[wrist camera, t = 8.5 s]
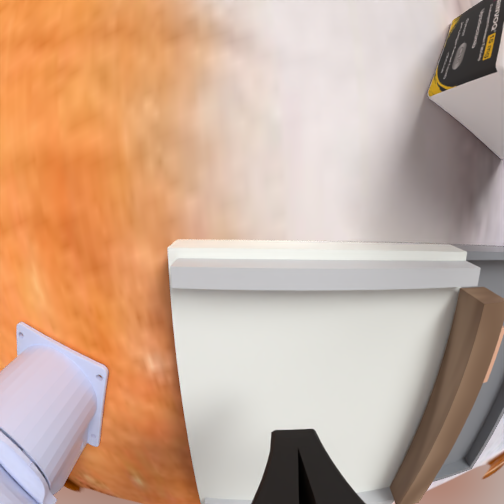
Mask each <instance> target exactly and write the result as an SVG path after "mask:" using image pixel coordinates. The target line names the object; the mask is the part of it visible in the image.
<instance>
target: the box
mask: <svg viewBox="0 0 504 504" xmlns="http://www.w3.org/2000/svg"><path fill="white" fill-rule="evenodd" d="M450 245H452V246H455V247H457V248H459V249H462V250H464V251H466V252H467V257H466V261H468V262H470V263H472V264H474V265H476V266H478V267H480V268H481V269H480V275H479V280H478V286H471V287H485V288H487V289H489V290H490V291H492V292H494V293H495V294H497V295H499V296H500V297H502V298H504V246H485V245H454V244H450ZM471 287H461V288H471ZM503 326H504V322H503ZM503 414H504V335H503V338H502V341H501V344H500V347H499V350H498V353H497V356H496V359H495V362H494V365H493V367H492V370H491V373H490V375H489V378H488V380H487V382H485V383H483V384H482V387H481V389H480V391H479V394H478V396H477V399H476V401H475V403H474V405H473V408H472V410H471V412H470V414H469V417H468V419H467V421H466V423H465V425H464V427H463V429H462V431H461V433H460V435H459V437H458V439H457V441H456V442H455V444H454V446H453V448H452V450H451V451H450V453H449V455H448V457H447V458H446V460H445V462H444V464H443V465H442V467H441V469H440V470H439V472H438V474H437V475H436V477H435V478H434V480H433V482H434V481H437V480H440V479H444V478H447V477H450V476H453V475H456V474H459V473H461V472H464V471H467V470H470V469H472V467H473V466H474V464H475V463H476V461H477V459H478V458H479V456H480V455H481V453H482V451H483V450H484V448H485V446H486V445H487V443H488V441H489V440H490V438H491V436H492V434H493V432H494V431H495V429H496V427H497V425H498V423H499V421H500V419H501V418H502V416H503Z"/></svg>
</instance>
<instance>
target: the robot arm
mask: <svg viewBox="0 0 504 504" xmlns="http://www.w3.org/2000/svg"><path fill="white" fill-rule="evenodd" d="M22 334H23V335H22ZM108 374H109V371H108V369H107V367H106V366H104V365H103V364H101V363H99V362H96V361H94V360H92V359H90V358H88V357H86V356H84V355H82V354H80V353H78V352H76V351H74V350H72V349H70V348H68V347H66V346H64V345H63V344H61V343H59V342H57V341H55V340H53V339H51V338H50V337H48V336H46V335H44V334H42V333H41V332H39V331H37V330H35V329H34V328H32V327H30V326H29V325H27V324H25V323H24V322H20V323H18V324H17V357H16V358H15V359H14V360H13V361H12V362H10V363H9V364H8V365H7V366H6V367H5V368H4V369H3V370H2V371H1V372H0V504H55V503H56V501H57V499H56V498H55V497H54V496H53V495H54V494H55V493H57V492H58V491H59V490H60V489H61V488H62V487H63V485H64V484H65V482H66V480H67V478H68V476H69V475H70V473H71V471H72V469H73V467H74V465H75V464H76V462H77V460H78V458H79V456H80V455H81V453H82V451H83V449H84V447H85V446H86V444H87V443H88V444H90V445H92V446H96V447H97V446H99V444H100V437H101V427H102V418H103V410H104V402H105V394H106V387H107V380H108ZM99 375H101V376H102V377H100V376H99ZM251 504H366V503H365V502H364V501H363V500H362V499H361V498H360V497H359V496H358V495H357V493H356V492H355V491H354V490H353V489H352V487H351V486H350V485H349V484H348V482H347V481H346V480H345V478H344V477H343V476H342V474H341V473H340V471H339V470H338V468H337V467H336V466H335V464H334V463H333V461H332V460H331V458H330V456H329V455H328V453H327V451H326V450H325V448H324V446H323V444H322V443H321V441H320V439H319V437H318V435H317V433H316V431H315V430H314V429H294V430H274V431H273V432H271V443H270V452H269V456H268V461H267V464H266V467H265V470H264V473H263V476H262V479H261V482H260V484H259V487H258V489H257V491H256V494H255V496H254V498H253V501H252V503H251Z"/></svg>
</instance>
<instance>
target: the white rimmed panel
mask: <svg viewBox="0 0 504 504" xmlns="http://www.w3.org/2000/svg"><path fill="white" fill-rule="evenodd" d="M466 257H467V252H466V251H464V250H462V249H459V248H457V247H455V246H452V245H450V244H424V243H386V242H341V241H284V240H197V239H177V240H176V241H175V242H174V243H172V244H171V245H170V246H169V247H168V266H169V281H170V295H171V307H172V319H173V329H174V339H175V349H176V358H177V366H178V374H179V382H180V389H181V397H182V404H183V410H184V417H185V423H186V429H187V435H188V441H189V447H190V453H191V458H192V463H193V469H194V474H195V479H196V484H197V488H198V493H199V498H200V502H201V504H251V503H252V501H253V498H254V496H255V494H256V491H257V489H258V487H259V484H260V482H261V479H262V476H263V473H264V470H265V467H266V464H267V461H268V456H269V452H270V443H271V432H273V431H274V430H294V429H314V430H315V431H316V433H317V435H318V437H319V439H320V441H321V443H322V444H323V446H324V448H325V450H326V451H327V453H328V455H329V456H330V458H331V460H332V461H333V463H334V464H335V466H336V467H337V468H338V470H339V471H340V473H341V474H342V476H343V477H344V478H345V480H346V481H347V482H348V484H349V485H350V486H351V487H352V489H353V490H354V491H355V492H356V493H357V495H358V496H359V497H360V498H361V499H362V500H363V501H364V502H365V503H366V504H392V503H393V501H394V498H393V495H392V492H391V490H390V485H391V483H392V481H393V479H394V477H395V476H396V474H397V472H398V470H399V468H400V466H401V464H402V462H403V460H404V457H405V455H406V453H407V451H408V449H409V447H410V445H411V442H412V440H413V438H414V436H415V433H416V431H417V429H418V426H419V424H420V421H421V419H422V416H423V414H424V411H425V409H426V406H427V403H428V401H429V398H430V395H431V392H432V390H433V387H434V384H435V381H436V378H437V375H438V372H439V369H440V365H441V362H442V359H443V356H444V352H445V349H446V345H447V341H448V338H449V334H450V330H451V326H452V322H453V318H454V314H455V309H456V305H457V300H458V295H459V290H460V288H461V287H471V286H478V280H479V275H480V269H481V268H480V267H478V266H476V265H474V264H472V263H470V262H468V261H466Z"/></svg>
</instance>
